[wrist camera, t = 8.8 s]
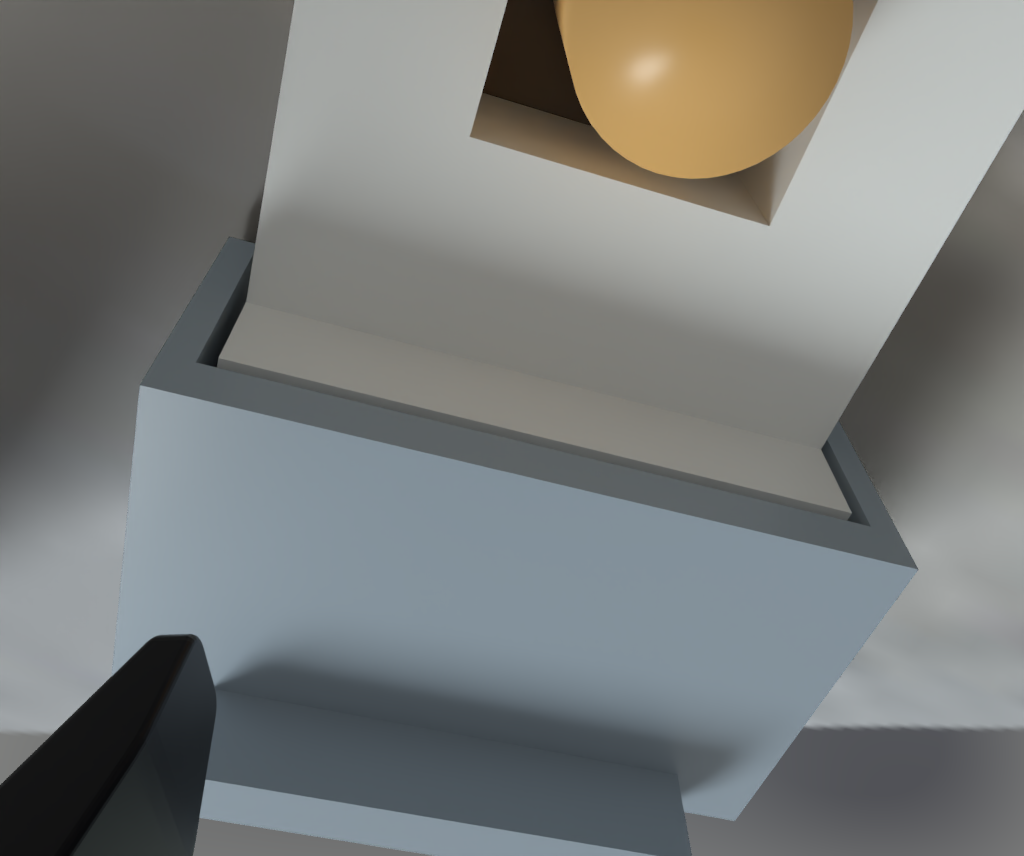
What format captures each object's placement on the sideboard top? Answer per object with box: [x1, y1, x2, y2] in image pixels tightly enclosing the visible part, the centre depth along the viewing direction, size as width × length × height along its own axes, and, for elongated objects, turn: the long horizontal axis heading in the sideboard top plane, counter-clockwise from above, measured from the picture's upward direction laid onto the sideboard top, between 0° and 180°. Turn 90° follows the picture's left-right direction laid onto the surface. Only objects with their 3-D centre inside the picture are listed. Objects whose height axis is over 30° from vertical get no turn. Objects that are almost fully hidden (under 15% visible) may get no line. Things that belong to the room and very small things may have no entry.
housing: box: [217, 0, 1024, 521], centre depth 18 cm, size 12×20×5 cm, turn 163°
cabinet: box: [112, 237, 918, 856], centre depth 20 cm, size 14×8×8 cm, turn 73°
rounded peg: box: [553, 0, 853, 179], centre depth 15 cm, size 4×4×5 cm
